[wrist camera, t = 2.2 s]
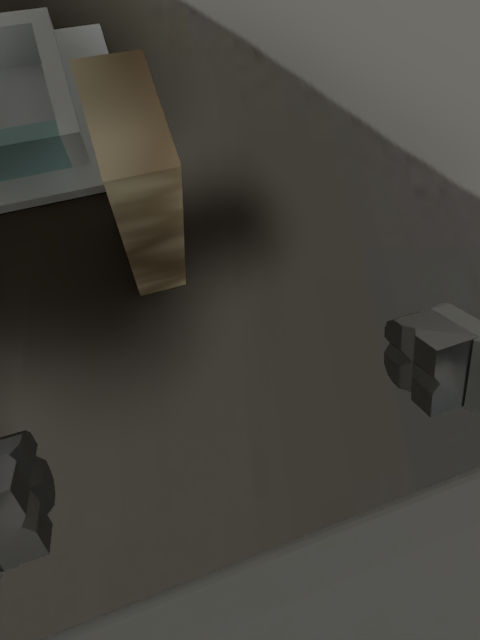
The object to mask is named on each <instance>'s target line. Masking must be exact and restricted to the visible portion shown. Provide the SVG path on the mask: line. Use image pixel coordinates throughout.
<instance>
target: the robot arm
mask: <svg viewBox="0 0 480 640" xmlns="http://www.w3.org/2000/svg"><path fill="white" fill-rule="evenodd" d="M384 337H385V338H386V339H387V340H388V341H389V342H390V344H389V345H388V347H387V349H386V350H385V352H384V365H385V368H386V371H387V374H388V376H389V377H390V379H391V380H392V382H393V383H394V384H395V385H396V386H397V387H398V388H399V389H402V390H405V391H409V392H411V400H412V401H413V402H414V403H415V404H416V405H417V406H418V407H419V408H421V409H422V410H423V411H424V412H425V413H426V414H427V415H428V416H429V417H430V418H431V417H434V416H437V415H440V414H443V413H446V412H450V411H453V410H456V409H459V408H462V407H464V409H465V410H468V411H470V412H473V413H475V414H478V415H480V320H478V319H476V318H475V317H473V316H471V315H469V314H467V313H466V312H464V311H462V310H460V309H458V308H457V307H455V306H453V305H451V304H448V303H441V304H438V305H435V306H432V307H429V308H426V309H424V310H422V311H419V312H416V313H412V314H409V315H406V316H403V317H400V318H396V319H393V320H390V321H387V323H386V326H385V335H384ZM37 445H38V444H37V443H36V441H35V439H34V437H33V436H32V434H31V433H30V432H28V431H26V430H25V431H21V432H18V433H14V434H11V435H7V436H4V437H0V579H1V577H2V576H3V574H2V572H5V571H7V570H10V569H12V568H15V567H18V566H20V565H23V564H25V563H28V562H31V561H33V560H36V559H38V558H41V557H43V556H46V555H49V553H50V544H51V534H52V525H53V524H52V522H51V520H50V519H49V517H48V515H47V514H48V513H49V512H50V510H51V509H52V508H53V506H54V504H55V487H54V479H53V476H52V473H51V470H50V468H49V466H48V464H47V462H46V460H44V459H42V458H40V457H38V456H36V451H37ZM39 640H480V467H477V468H475V469H472V470H470V471H467V472H464V473H462V474H459V475H457V476H454V477H452V478H449V479H447V480H444V481H442V482H439V483H436V484H434V485H431V486H429V487H426V488H424V489H421V490H419V491H416V492H414V493H411V494H408V495H406V496H403V497H401V498H398V499H396V500H393V501H391V502H388V503H386V504H383V505H380V506H378V507H375V508H373V509H370V510H368V511H365V512H363V513H360V514H358V515H355V516H352V517H350V518H347V519H345V520H342V521H340V522H337V523H335V524H332V525H330V526H327V527H324V528H322V529H319V530H317V531H314V532H312V533H309V534H307V535H304V536H302V537H299V538H296V539H294V540H291V541H289V542H286V543H284V544H281V545H279V546H276V547H274V548H271V549H268V550H266V551H263V552H261V553H258V554H256V555H253V556H251V557H248V558H246V559H243V560H240V561H238V562H235V563H233V564H230V565H228V566H225V567H223V568H220V569H218V570H215V571H212V572H210V573H207V574H205V575H202V576H200V577H197V578H195V579H192V580H190V581H187V582H184V583H182V584H179V585H177V586H174V587H172V588H169V589H167V590H164V591H162V592H159V593H156V594H154V595H151V596H149V597H146V598H144V599H141V600H139V601H136V602H134V603H131V604H128V605H126V606H123V607H121V608H118V609H116V610H113V611H111V612H108V613H106V614H103V615H100V616H98V617H95V618H93V619H90V620H88V621H85V622H83V623H80V624H78V625H75V626H72V627H70V628H67V629H65V630H62V631H60V632H57V633H55V634H52V635H50V636H47V637H44V638H42V639H39Z"/></svg>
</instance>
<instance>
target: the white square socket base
mask: <svg viewBox="0 0 480 640" xmlns="http://www.w3.org/2000/svg"><path fill="white" fill-rule="evenodd" d="M103 54H109V53H108V50H107V46H106V43H105V40H104V37H103V33H102V30H101V27H100V24H92V25H85V26H77V27H70V28H62V29H55V30H54V28H53V25H52V22H51V19H50V16H49V13H48V9H47V7H44V8H36V9H28V10H20V11H11V12H3V13H0V214H2V213H6V212H11V211H16V210H21V209H26V208H30V207H35V206H40V205H45V204H50V203H54V202H59V201H64V200H69V199H74V198H78V197H83V196H88V195H93V194H98V193H102V192H106V190H105V187H104V184H103V180H102V177H101V173H100V169H99V166H98V162H97V158H96V155H95V151H94V147H93V144H92V140H91V136H90V133H89V129H88V125H87V122H86V118H85V114H84V111H83V107H82V103H81V100H80V96H79V92H78V89H77V85H76V81H75V78H74V74H73V70H72V67H71V63H70V59H76V58H83V57H90V56H96V55H103Z"/></svg>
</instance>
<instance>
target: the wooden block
mask: <svg viewBox="0 0 480 640" xmlns="http://www.w3.org/2000/svg"><path fill="white" fill-rule="evenodd" d="M70 63H71V67H72V70H73V74H74V78H75V81H76V85H77V89H78V92H79V96H80V100H81V103H82V107H83V111H84V114H85V118H86V122H87V125H88V129H89V133H90V136H91V140H92V144H93V147H94V151H95V155H96V158H97V162H98V166H99V169H100V173H101V177H102V180H103V184H104V187H105V190H106V193H107V196H108V199H109V202H110V205H111V208H112V211H113V214H114V217H115V220H116V223H117V226H118V229H119V233H120V236H121V239H122V242H123V245H124V248H125V251H126V254H127V257H128V260H129V263H130V266H131V269H132V272H133V275H134V278H135V281H136V284H137V287H138V290H139V293H140V296H143V295H147V294H151V293H155V292H159V291H163V290H166V289H170V288H174V287H178V286H182V285H186V271H185V245H184V220H183V194H182V168H181V163H180V160H179V157H178V154H177V151H176V148H175V145H174V142H173V139H172V136H171V133H170V130H169V127H168V124H167V121H166V118H165V115H164V112H163V109H162V106H161V103H160V100H159V97H158V94H157V91H156V88H155V85H154V82H153V79H152V76H151V73H150V70H149V67H148V64H147V61H146V58H145V55H144V52H143V49H137V50H130V51H123V52H117V53H110V54H103V55H96V56H90V57H83V58H76V59H70Z"/></svg>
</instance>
